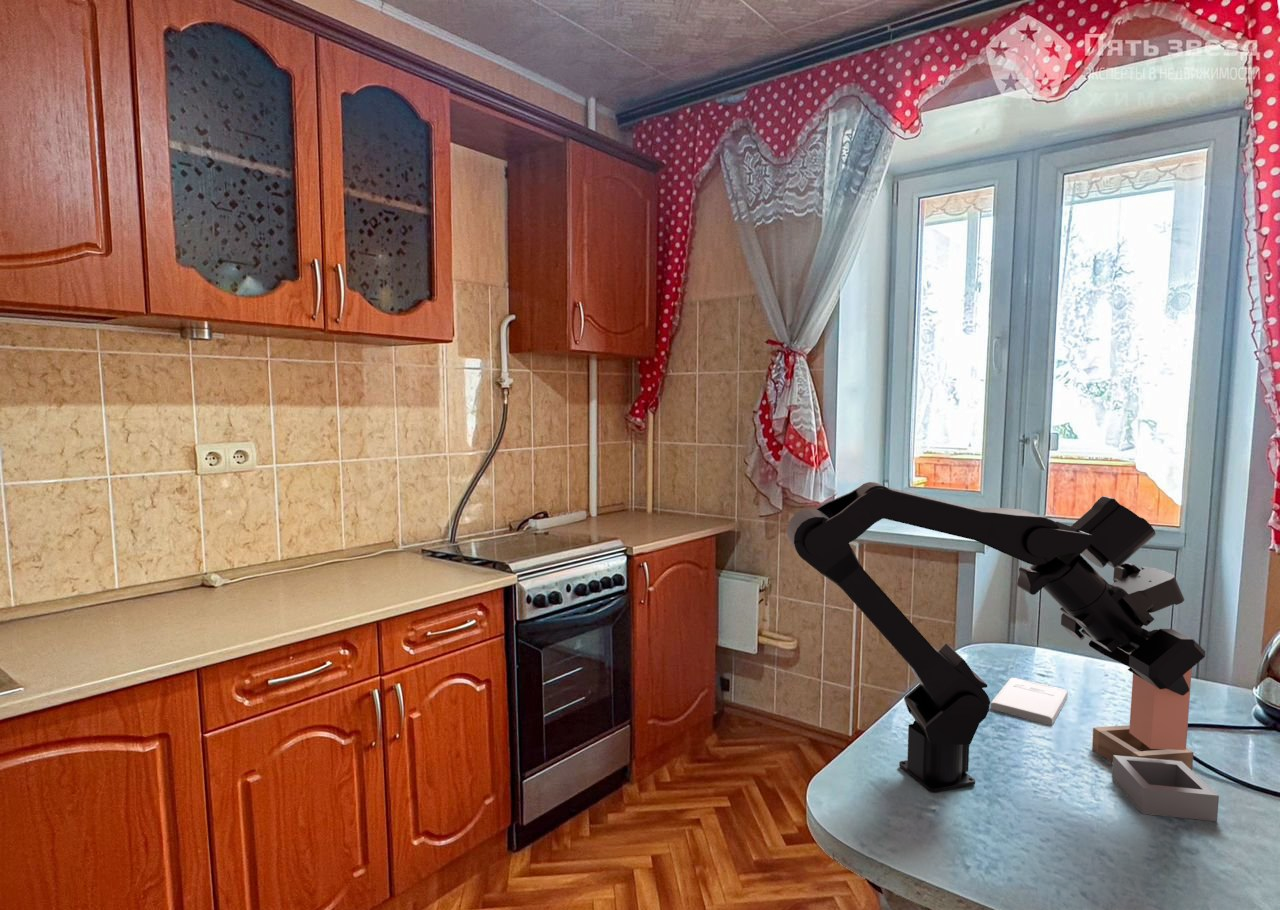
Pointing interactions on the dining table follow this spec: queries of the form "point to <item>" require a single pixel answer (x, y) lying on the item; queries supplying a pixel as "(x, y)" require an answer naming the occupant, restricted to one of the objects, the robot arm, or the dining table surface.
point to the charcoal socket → (1165, 788)
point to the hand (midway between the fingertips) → (1172, 684)
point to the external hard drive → (1030, 700)
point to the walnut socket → (1132, 746)
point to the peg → (1159, 715)
